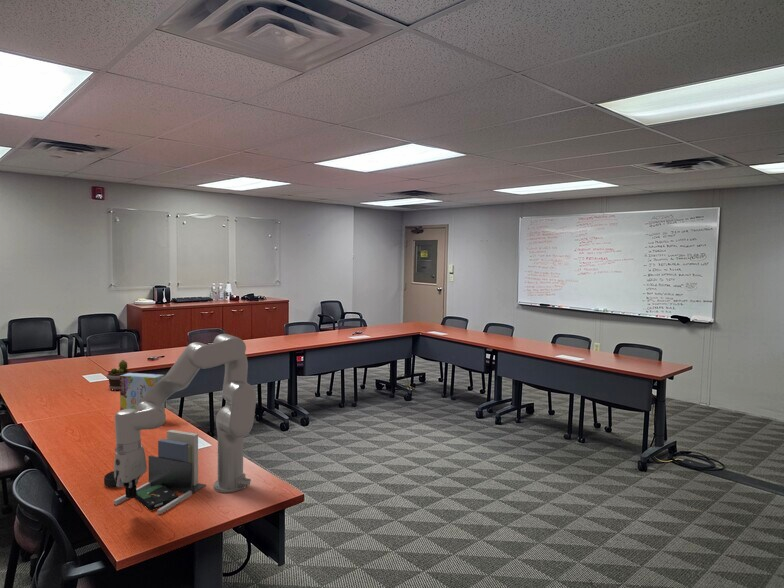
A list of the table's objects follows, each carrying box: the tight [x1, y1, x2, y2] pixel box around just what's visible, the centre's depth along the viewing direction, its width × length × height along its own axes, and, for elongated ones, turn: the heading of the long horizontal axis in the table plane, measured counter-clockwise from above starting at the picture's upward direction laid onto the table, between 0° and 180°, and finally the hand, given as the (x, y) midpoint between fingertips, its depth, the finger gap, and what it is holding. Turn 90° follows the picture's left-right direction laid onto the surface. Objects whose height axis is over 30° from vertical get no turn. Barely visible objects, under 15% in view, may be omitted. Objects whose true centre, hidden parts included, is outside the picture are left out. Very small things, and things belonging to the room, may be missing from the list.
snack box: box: [119, 372, 166, 413], centre depth 271 cm, size 22×9×26 cm, turn 80°
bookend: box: [148, 455, 207, 495], centre depth 197 cm, size 20×8×12 cm, turn 72°
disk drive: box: [133, 483, 179, 511], centre depth 186 cm, size 10×3×15 cm
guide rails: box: [113, 481, 193, 515], centre depth 186 cm, size 21×16×2 cm
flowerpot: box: [106, 358, 132, 391], centre depth 335 cm, size 14×15×20 cm
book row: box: [157, 429, 199, 486], centre depth 197 cm, size 13×7×20 cm, turn 72°
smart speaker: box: [103, 470, 118, 489], centre depth 198 cm, size 9×9×4 cm
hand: (131, 496), depth 175 cm, fingers closed
